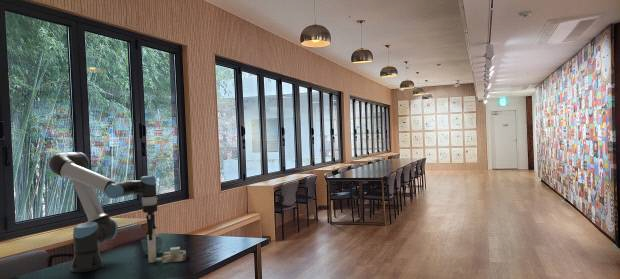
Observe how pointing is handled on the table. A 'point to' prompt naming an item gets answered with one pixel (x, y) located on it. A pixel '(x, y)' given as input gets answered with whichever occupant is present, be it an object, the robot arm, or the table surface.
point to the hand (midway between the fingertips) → (152, 243)
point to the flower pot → (158, 242)
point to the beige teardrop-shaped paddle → (152, 252)
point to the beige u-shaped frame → (174, 257)
